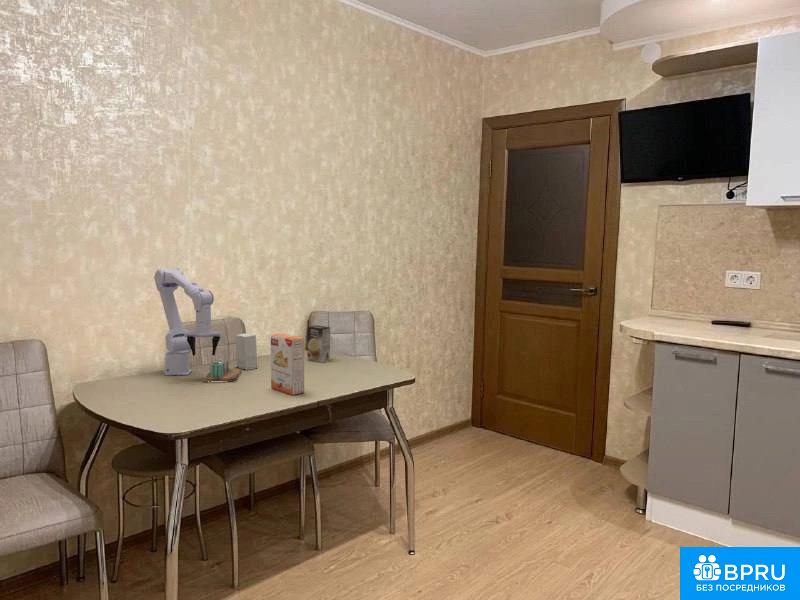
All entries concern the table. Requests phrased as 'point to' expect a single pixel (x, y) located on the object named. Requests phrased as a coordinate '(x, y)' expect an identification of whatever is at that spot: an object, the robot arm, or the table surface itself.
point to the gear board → (225, 376)
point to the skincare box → (246, 351)
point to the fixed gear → (224, 364)
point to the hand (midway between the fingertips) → (203, 355)
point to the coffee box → (318, 344)
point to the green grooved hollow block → (216, 369)
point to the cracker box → (287, 363)
